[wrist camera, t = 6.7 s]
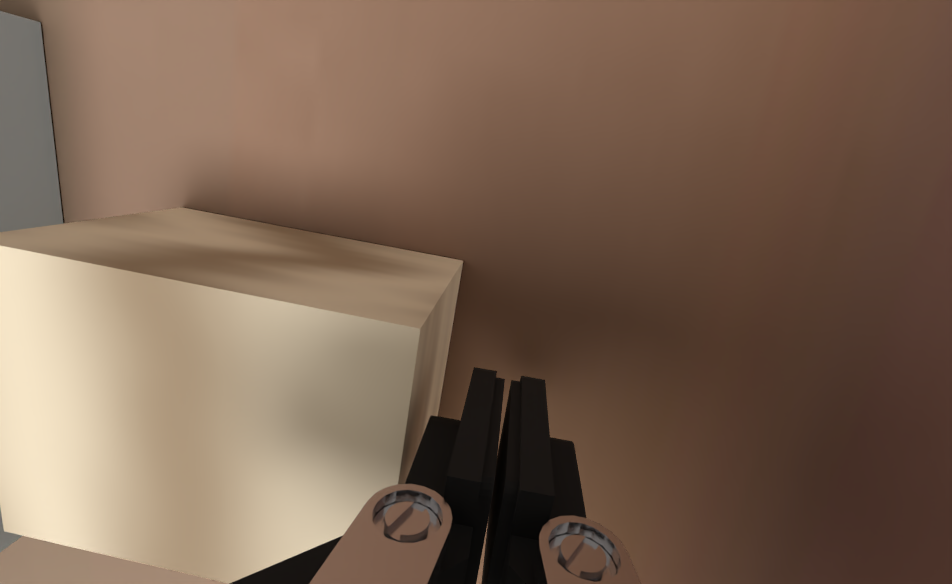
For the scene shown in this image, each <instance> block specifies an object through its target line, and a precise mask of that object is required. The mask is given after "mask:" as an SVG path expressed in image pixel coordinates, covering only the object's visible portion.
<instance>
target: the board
mask: <svg viewBox="0 0 952 584" xmlns="http://www.w3.org/2000/svg"><path fill="white" fill-rule="evenodd" d="M57 224H63V216H62V207H61V198H60V190H59V181H58V172H57V163H56V154H55V146H54V137H53V128H52V119H51V110H50V102H49V93H48V84H47V75H46V66H45V58H44V49H43V40H42V31H41V22H38V21H34V20H31V19H27V18H24V17H20V16H16V15H13V14H9V13H6V12H2V11H0V232H5V231H13V230H20V229H27V228H35V227H42V226H49V225H57ZM21 536H22V535H18V534H14V533H9V532H5V531H4V528H3V521H2V514H1V508H0V552H1V551H3V550H4V549H5V548H7V547H8V546H9V545H11V544H12V543H13V542H15V541H16V540H17V539H19V538H20V537H21Z"/></svg>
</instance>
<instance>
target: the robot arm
mask: <svg viewBox="0 0 952 584" xmlns="http://www.w3.org/2000/svg"><path fill="white" fill-rule="evenodd" d="M496 373H497V371H492V370H486V369H481V368H475V367H474V370H473V374H472V378H471V382H470V386H469V390H468V394H467V398H466V402H465V406H464V410H463V414H462V418H461V421H459V420H454V419H449V418H443V417H438V416H433V415H431V416H430V418H429V421H428V423H427V426H426V429H425V431H424V434H423V437H422V439H421V442H420V445H419V447H418V450H417V453H416V455H415V458H414V461H413V463H412V466H411V469H410V471H409V474H408V477H407V479H406V482H405V484H397V485H393V486H389V487H386V488H384V489H382V490H380V491H378V492H376V493H375V494H374V495H373V496H372V497H371V498H370V499H369V500H368V501H367V502H366V504H365V505H364V506H363V508H362V509H361V511H360V512H359V514H358V515H357V516H356V518H355V519H354V521H353V522H352V524H351V525H350V526H349V528H348V529H347V531H346V532H345V533H344V535H343V536H340V537H338V538H336V539H333V540H331V541H329V542H326V543H324V544H321V545H319V546H317V547H314V548H312V549H310V550H307V551H305V552H303V553H300V554H298V555H296V556H293V557H291V558H288V559H286V560H284V561H281V562H279V563H277V564H274V565H272V566H270V567H267V568H265V569H263V570H260V571H258V572H255V573H253V574H251V575H248V576H246V577H244V578H241V579H239V580H237V581H234V582H232V583H230V584H476V581H477V575H478V570H479V565H480V559H481V554H482V549H483V543H484V538H485V532H486V527H487V522H488V528H487V537H486V547H485V556H484V566H483V575H482V584H641V582H640V580H639V577H638V575H637V573H636V570H635V568H634V566H633V563H632V561H631V559H630V556H629V554H628V552H627V550H626V549H625V547H624V546H623V544H622V542H621V541H620V540H619V539H618V538H617V537H616V536H615V535H614V534H613V533H612V532H611V531H609V530H608V529H606V528H605V527H603V526H602V525H600V524H599V523H597V522H594V521H592V520H589V519H587V518H586V513H585V507H584V501H583V495H582V489H581V483H580V477H579V471H578V465H577V460H576V454H575V448H574V444H573V442H572V441H567V440H561V439H556V438H551V437H550V435H549V423H548V411H547V399H546V387H545V380H542V379H536V378H531V377H525V376H521V379H520V382H518V381H513V380H512V381H511V386H510V391H509V396H508V402H507V407H506V412H505V418H504V423H503V429H502V434H501V439H500V445H499V450H498V442H499V432H500V422H501V411H502V401H503V391H504V381H505V379H502V378H496ZM497 452H498V456H497ZM488 516H489V518H488Z"/></svg>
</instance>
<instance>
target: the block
mask: <svg viewBox="0 0 952 584" xmlns="http://www.w3.org/2000/svg"><path fill="white" fill-rule="evenodd" d="M462 266H463V261H462V260H457V259H452V258H447V257H441V256H436V255H431V254H426V253H420V252H415V251H410V250H404V249H399V248H394V247H389V246H383V245H378V244H373V243H367V242H362V241H357V240H352V239H346V238H341V237H336V236H331V235H325V234H320V233H315V232H309V231H304V230H299V229H294V228H288V227H283V226H278V225H272V224H267V223H262V222H257V221H251V220H246V219H241V218H235V217H230V216H225V215H220V214H214V213H209V212H204V211H199V210H193V209H188V208H183V207H181V208H174V209H166V210H159V211H152V212H144V213H137V214H130V215H123V216H115V217H108V218H101V219H93V220H86V221H79V222H71V223H64V224H57V225H49V226H42V227H35V228H27V229H20V230H13V231H5V232H0V508H1V514H2V521H3V528H4V531H5V532H9V533H14V534H18V535H22V536H26V537H31V538H35V539H39V540H44V541H48V542H52V543H57V544H61V545H65V546H69V547H74V548H78V549H82V550H87V551H91V552H95V553H99V554H104V555H108V556H112V557H117V558H121V559H125V560H130V561H134V562H138V563H142V564H147V565H151V566H155V567H160V568H164V569H168V570H172V571H177V572H181V573H185V574H190V575H194V576H198V577H203V578H207V579H211V580H215V581H220V582H224V583H228V584H230V583H232V582H234V581H237V580H239V579H241V578H244V577H246V576H248V575H251V574H253V573H255V572H258V571H260V570H263V569H265V568H267V567H270V566H272V565H274V564H277V563H279V562H281V561H284V560H286V559H288V558H291V557H293V556H296V555H298V554H300V553H303V552H305V551H307V550H310V549H312V548H314V547H317V546H319V545H321V544H324V543H326V542H329V541H331V540H333V539H336V538H338V537H340V536H343V535H344V533H345V532H346V531H347V529H348V528H349V526H350V525H351V524H352V522H353V521H354V519H355V518H356V516H357V515H358V514H359V512H360V511H361V509H362V508H363V506H364V505H365V504H366V502H367V501H368V500H369V499H370V498H371V497H372V496H373V495H374V494H375V493H376V492H378V491H380V490H382V489H384V488H386V487H389V486H393V485H397V484H405V482H406V479H407V477H408V474H409V471H410V469H411V466H412V463H413V461H414V458H415V455H416V453H417V450H418V447H419V445H420V442H421V439H422V437H423V434H424V431H425V429H426V426H427V423H428V421H429V418H430V416H431V415H433V416H438V411H439V405H440V399H441V393H442V387H443V381H444V375H445V369H446V363H447V357H448V351H449V345H450V339H451V332H452V326H453V320H454V314H455V308H456V302H457V296H458V290H459V284H460V278H461V272H462Z"/></svg>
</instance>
